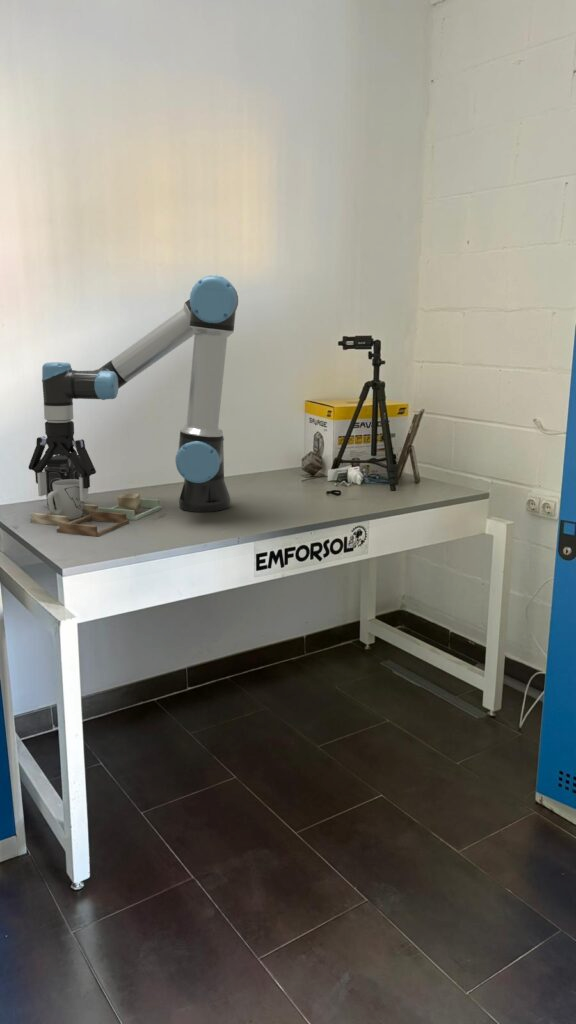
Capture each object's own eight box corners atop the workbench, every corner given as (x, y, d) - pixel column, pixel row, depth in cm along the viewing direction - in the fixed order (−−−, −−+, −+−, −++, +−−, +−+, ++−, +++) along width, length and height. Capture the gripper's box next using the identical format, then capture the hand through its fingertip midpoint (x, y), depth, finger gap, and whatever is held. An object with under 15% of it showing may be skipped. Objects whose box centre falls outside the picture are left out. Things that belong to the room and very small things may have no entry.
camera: (78, 511, 223) (75, 459, 219) (45, 509, 225) (41, 458, 221) (94, 503, 232) (91, 454, 229) (62, 501, 234) (58, 453, 231)
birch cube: (140, 510, 223) (140, 493, 222) (136, 514, 218) (135, 497, 217) (124, 510, 224) (123, 493, 223) (118, 514, 219) (117, 497, 218)
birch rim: (100, 514, 219) (100, 505, 218) (69, 526, 206) (69, 517, 205) (63, 510, 223) (62, 502, 223) (30, 522, 210) (29, 513, 209)
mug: (60, 524, 208) (57, 488, 205) (39, 520, 212) (36, 484, 210) (92, 516, 217) (90, 481, 215) (71, 512, 221) (69, 478, 219)
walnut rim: (129, 523, 209) (128, 514, 209) (98, 536, 196) (98, 527, 195) (89, 519, 213) (89, 510, 213) (57, 532, 200) (56, 522, 200)
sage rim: (161, 508, 226) (161, 500, 225) (135, 520, 212) (135, 511, 212) (124, 505, 230) (124, 496, 229) (96, 516, 217) (96, 507, 216)
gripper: (106, 421, 207) (109, 498, 212) (30, 416, 216) (34, 490, 221) (90, 425, 201) (94, 504, 206) (12, 419, 209) (17, 496, 214)
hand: (63, 497), depth 213 cm, fingers open, 13 cm apart
